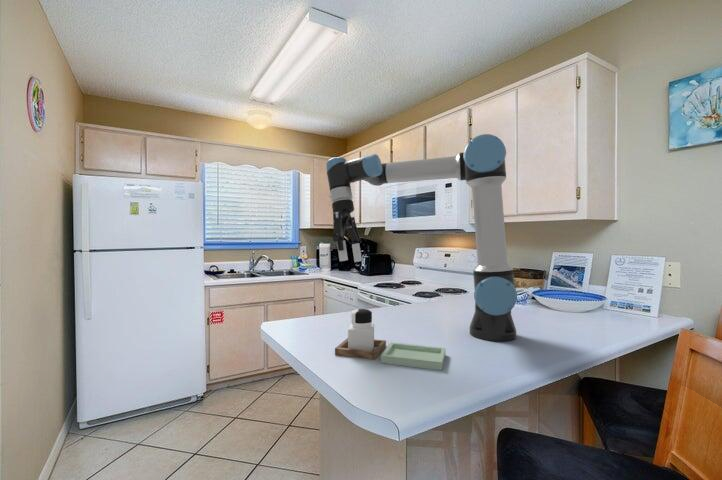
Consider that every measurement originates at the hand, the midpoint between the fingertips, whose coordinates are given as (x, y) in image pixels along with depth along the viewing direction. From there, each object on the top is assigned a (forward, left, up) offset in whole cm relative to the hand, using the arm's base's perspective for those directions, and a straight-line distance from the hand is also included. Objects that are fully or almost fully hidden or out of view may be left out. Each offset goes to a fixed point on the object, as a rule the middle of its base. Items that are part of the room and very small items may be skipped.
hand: (351, 261), depth 119 cm
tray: (-24, +17, -25) cm, 39 cm away
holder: (-9, +15, -25) cm, 30 cm away
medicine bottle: (-9, +15, -25) cm, 31 cm away
